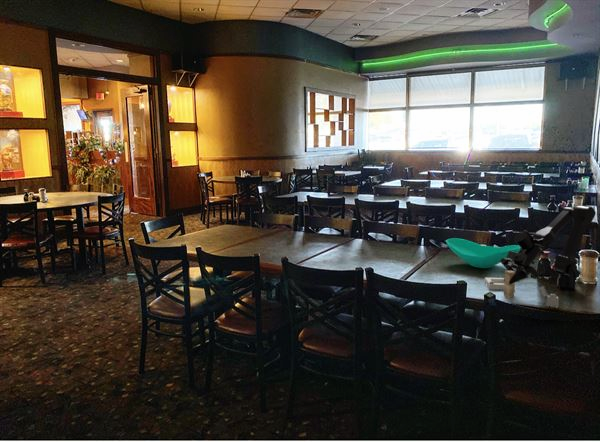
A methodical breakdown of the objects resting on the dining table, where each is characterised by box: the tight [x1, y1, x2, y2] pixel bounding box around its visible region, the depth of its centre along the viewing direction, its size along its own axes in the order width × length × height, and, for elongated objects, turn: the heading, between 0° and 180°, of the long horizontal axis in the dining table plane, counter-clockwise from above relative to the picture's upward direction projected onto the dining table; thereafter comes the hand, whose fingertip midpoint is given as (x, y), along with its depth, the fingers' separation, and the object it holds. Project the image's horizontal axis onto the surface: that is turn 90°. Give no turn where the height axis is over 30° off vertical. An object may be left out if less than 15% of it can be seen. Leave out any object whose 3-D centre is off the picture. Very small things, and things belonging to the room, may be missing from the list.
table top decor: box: [445, 237, 522, 269], centre depth 256 cm, size 40×28×13 cm
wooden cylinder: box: [503, 270, 516, 298], centre depth 208 cm, size 3×3×12 cm
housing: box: [484, 277, 505, 291], centre depth 223 cm, size 11×11×3 cm
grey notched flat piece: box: [539, 285, 560, 309], centre depth 195 cm, size 7×2×8 cm, turn 47°
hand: (507, 282), depth 207 cm, fingers closed on wooden cylinder, 3 cm apart
